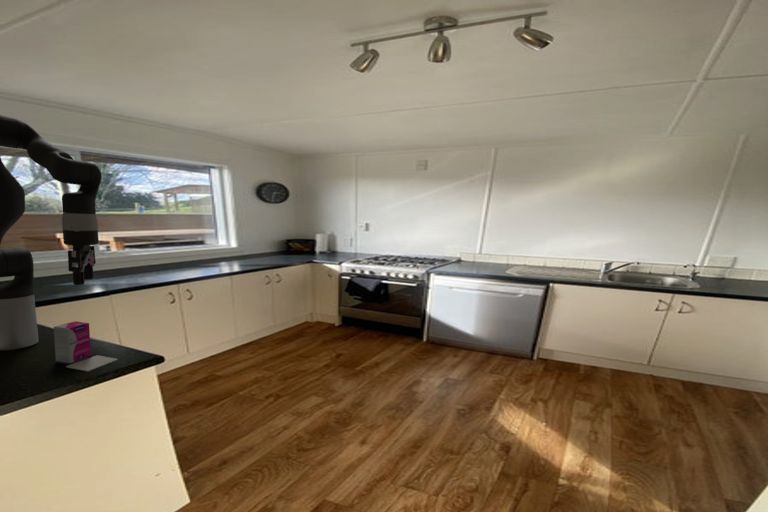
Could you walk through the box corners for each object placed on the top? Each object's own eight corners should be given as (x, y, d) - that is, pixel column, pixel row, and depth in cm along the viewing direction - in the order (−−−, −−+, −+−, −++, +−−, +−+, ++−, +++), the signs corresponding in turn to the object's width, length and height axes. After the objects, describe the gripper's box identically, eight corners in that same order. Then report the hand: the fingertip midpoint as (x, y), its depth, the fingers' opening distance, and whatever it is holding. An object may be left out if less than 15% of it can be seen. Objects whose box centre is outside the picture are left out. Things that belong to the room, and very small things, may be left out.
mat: (66, 367, 91) (65, 366, 90) (97, 356, 98) (97, 355, 98) (87, 371, 88) (87, 370, 88) (118, 359, 96) (118, 359, 96)
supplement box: (70, 365, 92) (67, 328, 91) (55, 363, 93) (51, 326, 92) (92, 357, 98) (89, 322, 96) (77, 355, 99) (74, 320, 97)
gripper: (72, 227, 96) (75, 278, 98) (52, 229, 83) (57, 287, 85) (104, 227, 99) (106, 276, 101) (90, 230, 87) (93, 286, 89)
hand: (84, 281), depth 93 cm, fingers open, 8 cm apart
